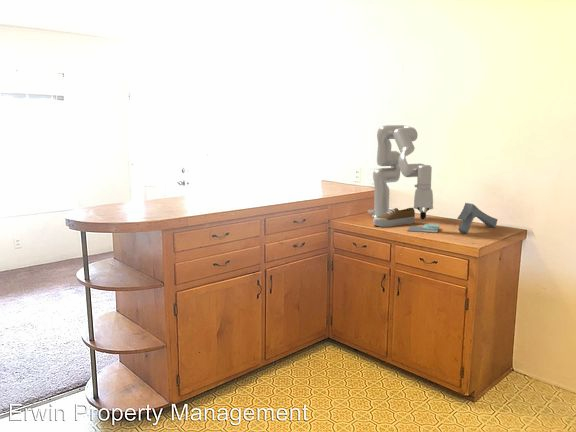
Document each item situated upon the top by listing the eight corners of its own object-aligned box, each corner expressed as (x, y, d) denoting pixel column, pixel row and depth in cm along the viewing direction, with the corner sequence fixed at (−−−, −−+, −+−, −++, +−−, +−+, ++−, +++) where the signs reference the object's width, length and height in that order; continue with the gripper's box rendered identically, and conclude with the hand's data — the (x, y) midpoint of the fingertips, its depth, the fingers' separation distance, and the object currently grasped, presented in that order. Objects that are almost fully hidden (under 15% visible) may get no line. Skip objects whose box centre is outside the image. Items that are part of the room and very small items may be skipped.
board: (422, 228, 274) (437, 229, 271) (424, 224, 285) (439, 224, 282) (422, 231, 274) (437, 232, 271) (424, 227, 285) (438, 227, 282)
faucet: (479, 244, 286) (452, 228, 268) (488, 217, 287) (461, 200, 269) (489, 246, 281) (462, 230, 263) (498, 218, 282) (471, 201, 264)
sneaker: (368, 225, 296) (369, 208, 294) (408, 220, 307) (408, 205, 305) (378, 228, 287) (378, 211, 285) (418, 223, 298) (419, 207, 296)
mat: (407, 231, 277) (407, 230, 277) (410, 226, 289) (410, 225, 289) (437, 232, 271) (437, 232, 271) (438, 228, 283) (438, 227, 283)
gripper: (409, 187, 275) (408, 219, 278) (437, 188, 269) (436, 221, 273) (411, 185, 281) (410, 217, 285) (438, 186, 276) (437, 218, 279)
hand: (423, 218), depth 279 cm, fingers closed
